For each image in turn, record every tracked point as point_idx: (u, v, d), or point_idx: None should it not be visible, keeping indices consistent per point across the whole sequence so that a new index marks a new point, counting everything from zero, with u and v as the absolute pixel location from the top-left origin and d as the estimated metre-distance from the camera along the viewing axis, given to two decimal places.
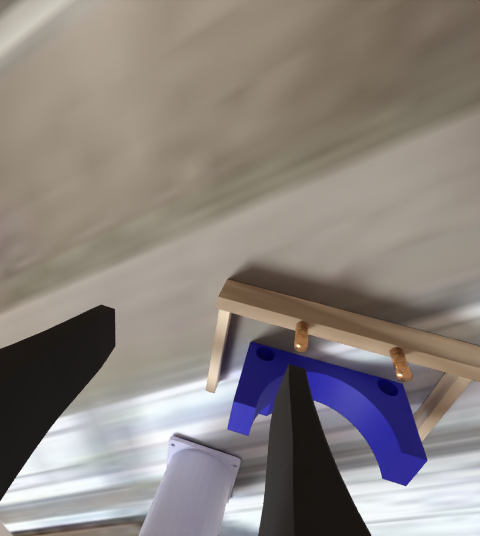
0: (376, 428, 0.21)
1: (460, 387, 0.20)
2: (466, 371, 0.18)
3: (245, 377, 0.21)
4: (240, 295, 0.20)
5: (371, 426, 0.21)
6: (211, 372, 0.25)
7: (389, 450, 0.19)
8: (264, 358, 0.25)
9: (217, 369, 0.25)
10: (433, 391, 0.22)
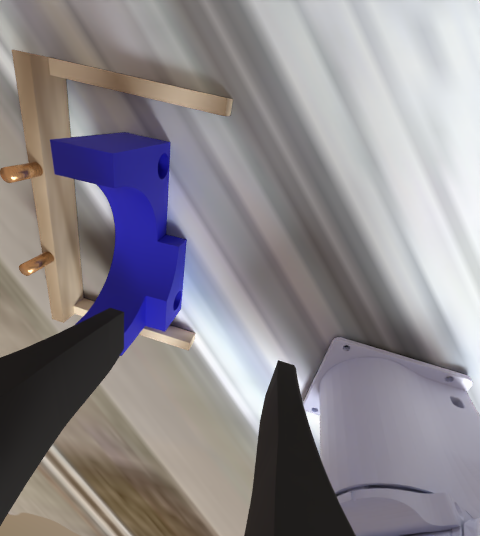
0: None
1: (79, 71, 0.16)
2: (25, 88, 0.16)
3: None
4: None
5: (119, 187, 0.16)
6: (160, 339, 0.24)
7: None
8: None
9: (154, 332, 0.23)
10: None
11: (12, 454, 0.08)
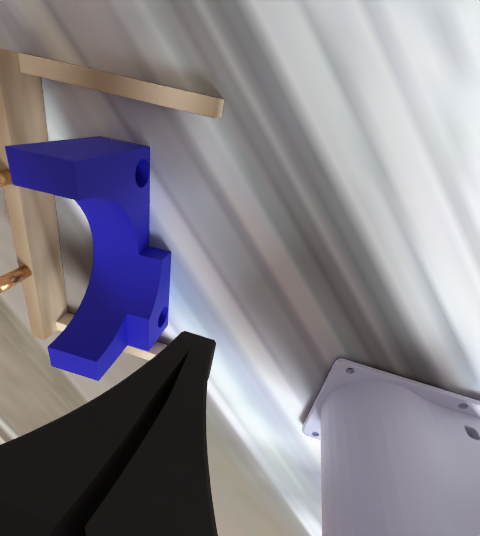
0: None
1: (53, 67, 0.14)
2: None
3: None
4: None
5: None
6: (148, 358, 0.22)
7: None
8: None
9: (142, 351, 0.22)
10: None
11: None
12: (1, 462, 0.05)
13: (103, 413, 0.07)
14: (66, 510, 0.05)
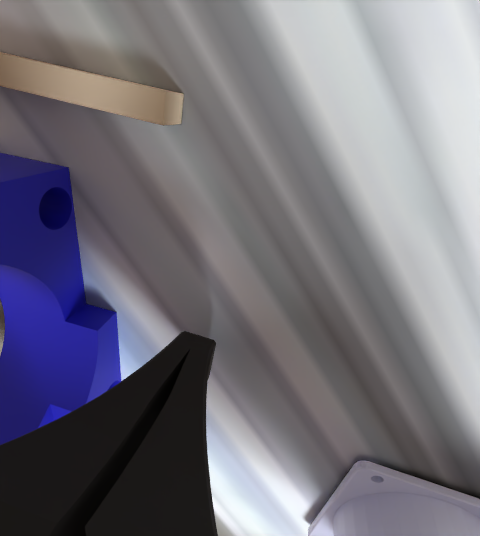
0: None
1: None
2: None
3: None
4: None
5: None
6: None
7: None
8: None
9: None
10: None
11: None
12: (1, 462, 0.05)
13: (103, 413, 0.07)
14: (66, 510, 0.05)
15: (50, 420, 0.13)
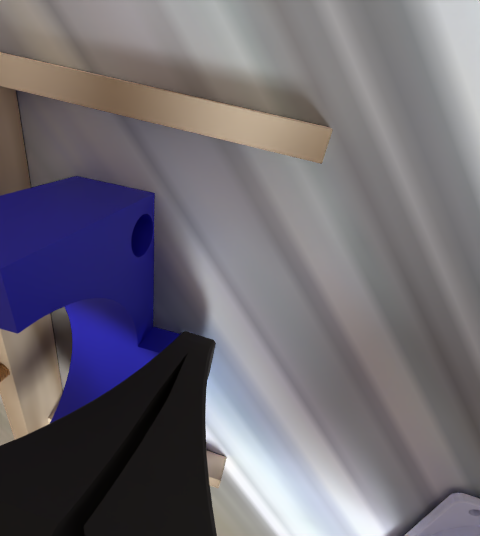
0: None
1: (32, 73, 0.08)
2: None
3: None
4: None
5: None
6: None
7: None
8: None
9: None
10: None
11: None
12: (2, 462, 0.05)
13: (103, 413, 0.07)
14: (67, 511, 0.05)
15: None
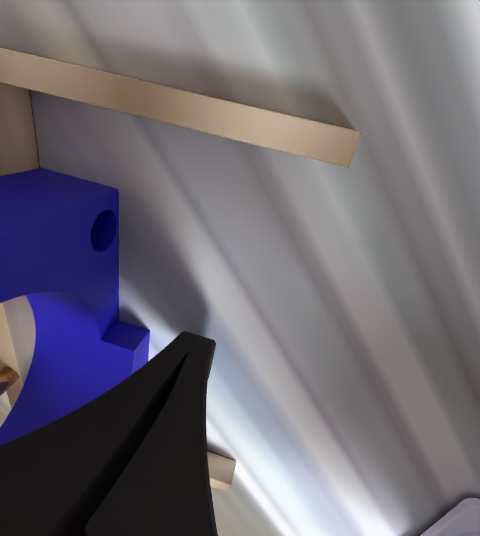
0: None
1: (49, 73, 0.08)
2: None
3: None
4: None
5: None
6: None
7: None
8: None
9: None
10: None
11: None
12: (1, 462, 0.05)
13: (103, 413, 0.07)
14: (66, 510, 0.05)
15: None
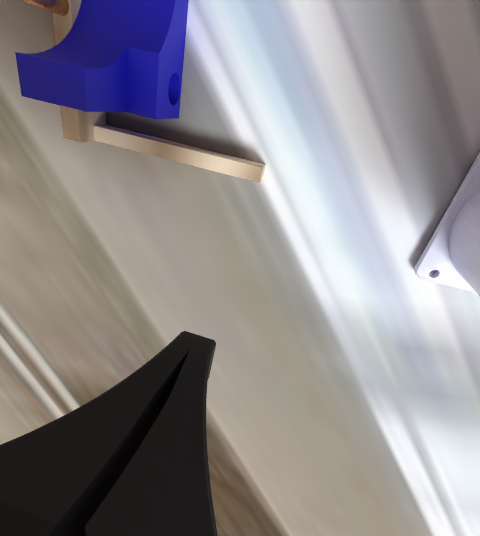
0: None
1: None
2: None
3: None
4: None
5: None
6: (217, 167, 0.17)
7: None
8: None
9: (209, 156, 0.16)
10: None
11: None
12: (1, 462, 0.05)
13: (103, 413, 0.07)
14: (66, 510, 0.05)
15: (125, 70, 0.14)
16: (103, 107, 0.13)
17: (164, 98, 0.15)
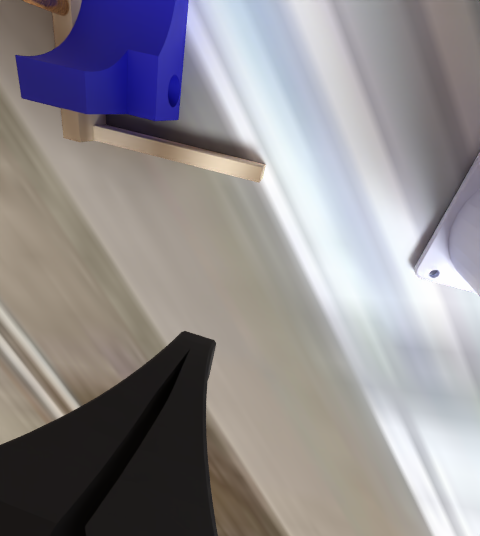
0: None
1: None
2: None
3: None
4: None
5: None
6: (217, 167, 0.17)
7: None
8: None
9: (209, 156, 0.16)
10: None
11: None
12: (1, 462, 0.05)
13: (103, 413, 0.07)
14: (66, 510, 0.05)
15: (125, 72, 0.14)
16: (103, 109, 0.13)
17: (164, 100, 0.15)
